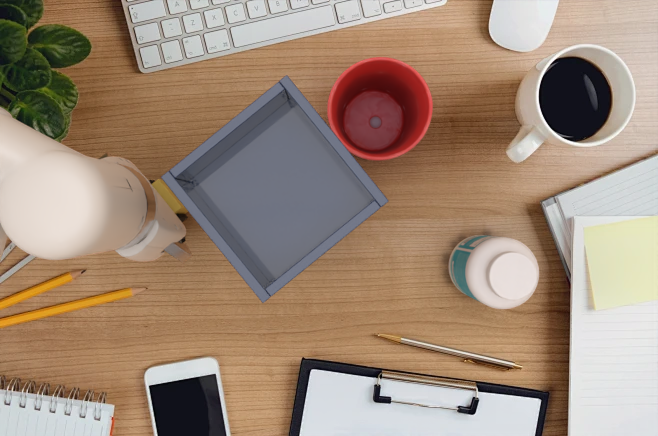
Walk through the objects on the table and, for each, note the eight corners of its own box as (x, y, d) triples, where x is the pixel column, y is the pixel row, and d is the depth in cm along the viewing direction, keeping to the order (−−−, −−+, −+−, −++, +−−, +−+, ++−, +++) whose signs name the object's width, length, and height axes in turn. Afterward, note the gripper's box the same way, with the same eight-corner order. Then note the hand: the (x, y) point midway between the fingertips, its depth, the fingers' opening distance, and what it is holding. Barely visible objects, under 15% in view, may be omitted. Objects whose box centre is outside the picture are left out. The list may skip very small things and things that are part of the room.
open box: (176, 180, 52) (160, 177, 47) (290, 88, 52) (286, 74, 47) (269, 294, 52) (262, 303, 47) (383, 202, 52) (389, 201, 47)
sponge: (136, 208, 71) (121, 208, 65) (170, 181, 71) (158, 178, 65) (158, 235, 71) (145, 236, 66) (192, 207, 71) (181, 207, 66)
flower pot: (425, 160, 72) (440, 152, 63) (333, 173, 72) (334, 166, 63) (413, 71, 72) (426, 49, 63) (321, 84, 72) (320, 64, 63)
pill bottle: (486, 309, 72) (522, 330, 59) (434, 274, 72) (459, 287, 59) (522, 257, 72) (566, 266, 59) (470, 221, 72) (503, 223, 59)
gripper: (12, 157, 52) (91, 172, 70) (137, 310, 52) (183, 284, 70) (81, 102, 52) (142, 131, 70) (205, 255, 52) (234, 243, 71)
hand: (162, 208), depth 70 cm, fingers closed on sponge, 4 cm apart
